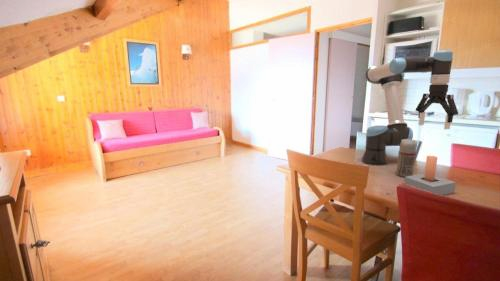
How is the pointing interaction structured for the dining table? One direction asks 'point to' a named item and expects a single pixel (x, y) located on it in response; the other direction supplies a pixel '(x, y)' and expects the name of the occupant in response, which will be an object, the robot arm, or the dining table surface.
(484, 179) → the dining table surface
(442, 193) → the socket block
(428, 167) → the dowel
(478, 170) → the dining table surface
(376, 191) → the dining table surface
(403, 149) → the spray can
